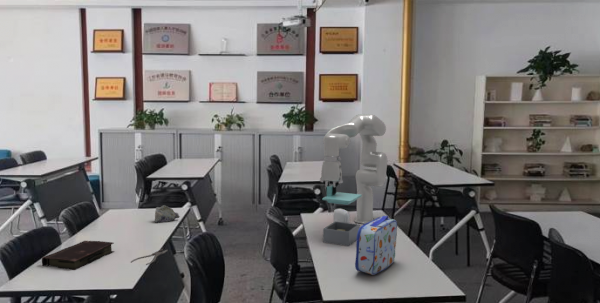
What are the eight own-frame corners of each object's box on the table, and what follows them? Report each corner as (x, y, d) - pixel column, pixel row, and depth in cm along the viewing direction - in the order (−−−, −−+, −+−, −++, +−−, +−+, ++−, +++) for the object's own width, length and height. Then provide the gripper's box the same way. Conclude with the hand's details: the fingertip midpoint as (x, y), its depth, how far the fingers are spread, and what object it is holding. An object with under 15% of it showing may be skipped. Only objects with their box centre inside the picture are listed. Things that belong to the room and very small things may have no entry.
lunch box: (377, 256, 211) (378, 210, 209) (399, 260, 206) (400, 213, 203) (352, 275, 188) (352, 223, 185) (375, 280, 182) (376, 227, 180)
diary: (41, 267, 198) (40, 256, 197) (84, 249, 221) (83, 239, 221) (76, 271, 192) (75, 260, 192) (116, 252, 216) (115, 242, 216)
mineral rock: (180, 220, 274) (180, 203, 273) (171, 224, 264) (171, 207, 262) (161, 218, 277) (160, 202, 276) (151, 223, 266) (151, 206, 265)
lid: (335, 196, 245) (335, 182, 244) (361, 199, 238) (361, 185, 237) (322, 202, 229) (322, 188, 229) (350, 206, 223) (350, 191, 222)
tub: (334, 233, 246) (335, 221, 245) (359, 237, 240) (359, 224, 239) (323, 242, 232) (323, 228, 231) (348, 246, 226) (349, 232, 225)
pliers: (128, 262, 200) (149, 248, 220) (128, 264, 200) (149, 249, 220) (149, 264, 199) (168, 249, 219) (149, 265, 199) (168, 250, 219)
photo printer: (332, 229, 254) (332, 208, 253) (337, 228, 257) (338, 206, 256) (345, 233, 247) (345, 211, 245) (350, 232, 249) (351, 210, 248)
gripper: (348, 159, 234) (348, 194, 236) (320, 157, 241) (319, 191, 243) (343, 161, 227) (342, 197, 229) (314, 159, 234) (314, 194, 236)
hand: (331, 193), depth 236 cm, fingers closed on lid, 2 cm apart
